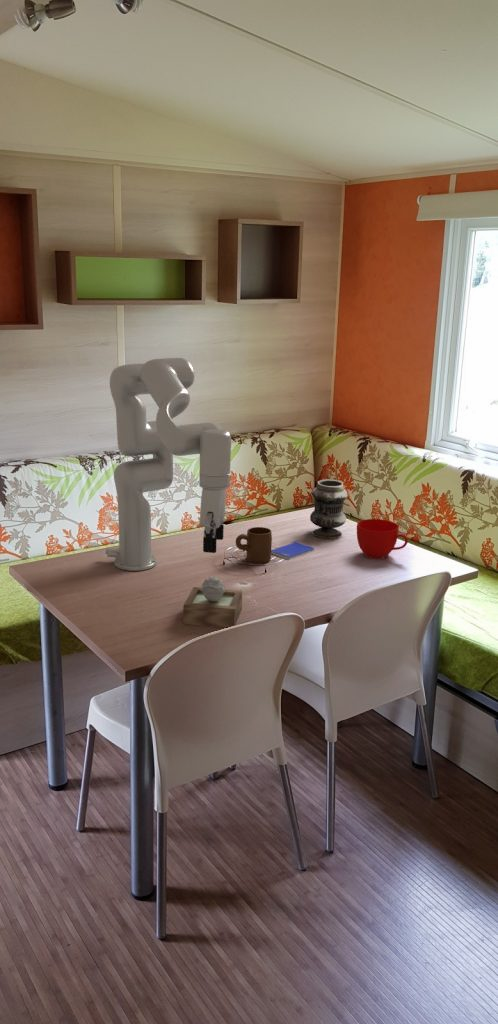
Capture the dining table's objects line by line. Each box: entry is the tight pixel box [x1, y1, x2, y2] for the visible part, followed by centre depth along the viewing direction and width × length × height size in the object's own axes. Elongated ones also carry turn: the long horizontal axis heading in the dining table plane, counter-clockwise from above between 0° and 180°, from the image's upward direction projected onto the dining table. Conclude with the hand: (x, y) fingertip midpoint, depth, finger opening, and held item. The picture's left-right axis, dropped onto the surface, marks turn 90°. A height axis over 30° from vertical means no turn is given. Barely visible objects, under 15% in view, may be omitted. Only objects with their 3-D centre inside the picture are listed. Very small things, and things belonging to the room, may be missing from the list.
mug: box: [235, 526, 273, 564], centre depth 256 cm, size 12×8×9 cm, turn 121°
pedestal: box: [182, 586, 243, 628], centre depth 216 cm, size 13×12×5 cm
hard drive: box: [271, 541, 315, 561], centre depth 266 cm, size 2×8×12 cm
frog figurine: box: [200, 576, 226, 602], centre depth 215 cm, size 6×7×7 cm
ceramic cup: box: [356, 518, 409, 560], centre depth 262 cm, size 13×17×10 cm
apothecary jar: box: [309, 479, 348, 539], centre depth 281 cm, size 12×12×18 cm
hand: (213, 545), depth 212 cm, fingers open, 9 cm apart
